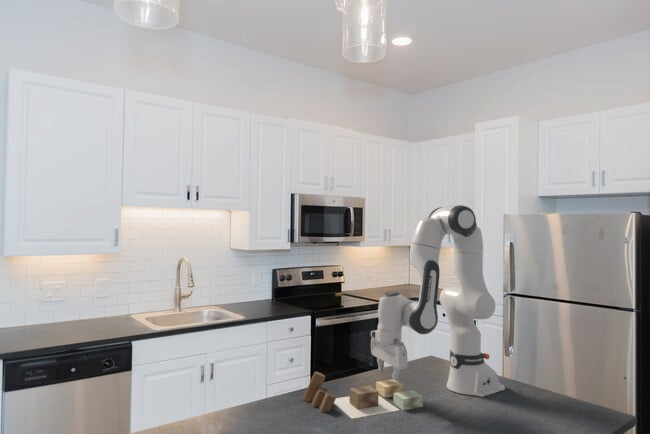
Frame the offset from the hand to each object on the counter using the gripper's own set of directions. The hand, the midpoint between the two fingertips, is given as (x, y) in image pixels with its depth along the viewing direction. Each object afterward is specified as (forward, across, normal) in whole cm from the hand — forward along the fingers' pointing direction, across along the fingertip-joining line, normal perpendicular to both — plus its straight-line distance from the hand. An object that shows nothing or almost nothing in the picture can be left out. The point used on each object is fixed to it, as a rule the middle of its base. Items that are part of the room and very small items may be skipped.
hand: (387, 374), depth 165 cm
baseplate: (+8, -6, +13) cm, 17 cm away
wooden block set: (+9, +2, +27) cm, 28 cm away
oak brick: (+8, 0, -1) cm, 8 cm away
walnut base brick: (+7, -6, +13) cm, 16 cm away
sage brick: (+8, -12, -1) cm, 15 cm away
